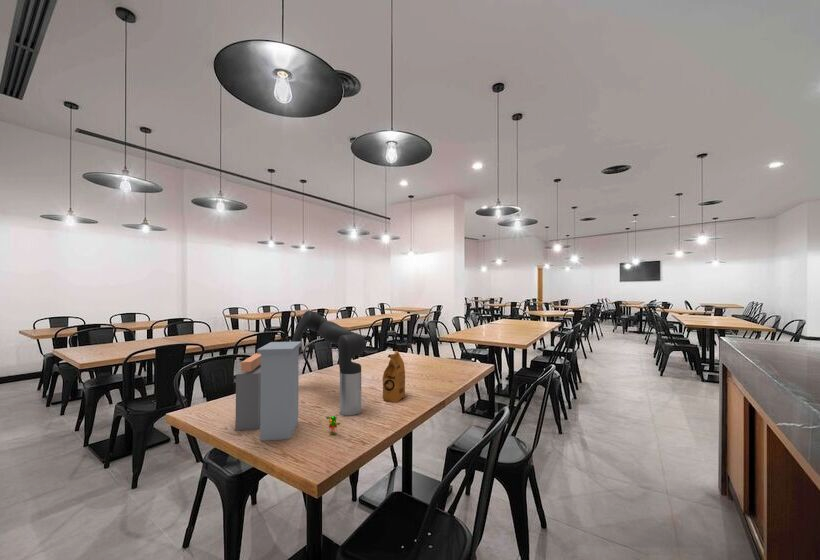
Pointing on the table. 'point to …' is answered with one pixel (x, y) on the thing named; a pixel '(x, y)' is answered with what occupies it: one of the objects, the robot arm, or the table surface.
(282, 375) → the pedestal
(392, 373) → the coffee package
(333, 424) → the toy character
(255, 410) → the shelf
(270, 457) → the table surface
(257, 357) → the bar
